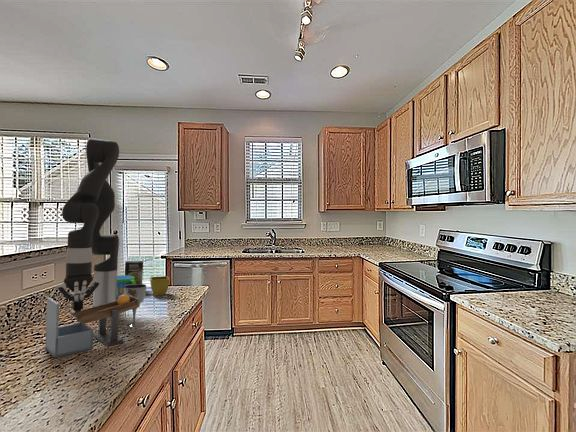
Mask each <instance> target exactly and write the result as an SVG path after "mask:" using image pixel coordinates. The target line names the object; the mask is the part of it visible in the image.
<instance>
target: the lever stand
mask: <svg viewBox="0 0 576 432" xmlns="http://www.w3.org/2000/svg"><path fill="white" fill-rule="evenodd" d="M105 304H106V303H105ZM100 305H103V304H100ZM119 314H120V313H119V310H118V309H117V310H112V311H111V316H110V330H109V329H107V317H106V318H103V319H100V320H98V331H97V332H93V338H95V339H97V341H99V342H100V343H102V344H103V345H104V346H106V347H112V346H116V345H119V344H123V343H124V341H125V340H124V339H123V338H122V337H120V336H119V317H120V315H119Z"/></svg>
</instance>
